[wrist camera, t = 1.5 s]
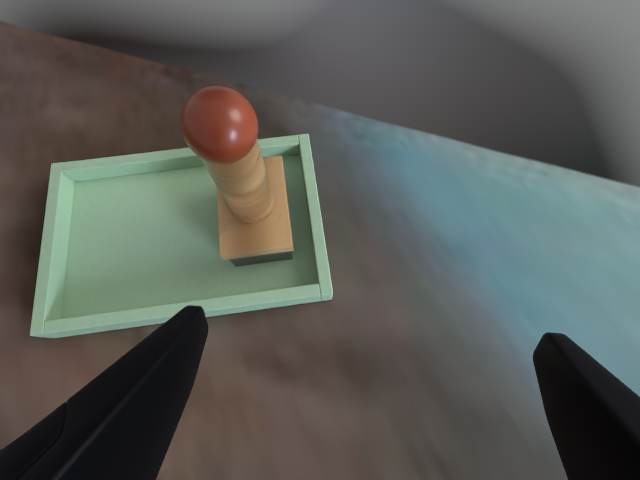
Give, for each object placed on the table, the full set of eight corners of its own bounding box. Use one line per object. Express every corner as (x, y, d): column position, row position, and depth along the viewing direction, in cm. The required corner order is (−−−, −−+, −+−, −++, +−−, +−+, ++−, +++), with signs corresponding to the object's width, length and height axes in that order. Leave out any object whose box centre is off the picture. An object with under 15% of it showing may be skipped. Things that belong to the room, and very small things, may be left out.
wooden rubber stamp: (286, 180, 27) (259, 32, 15) (296, 261, 25) (274, 165, 13) (227, 187, 27) (153, 43, 15) (232, 270, 25) (150, 180, 13)
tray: (309, 149, 28) (308, 133, 26) (332, 299, 24) (333, 293, 22) (70, 177, 28) (51, 163, 26) (53, 338, 24) (29, 336, 22)
